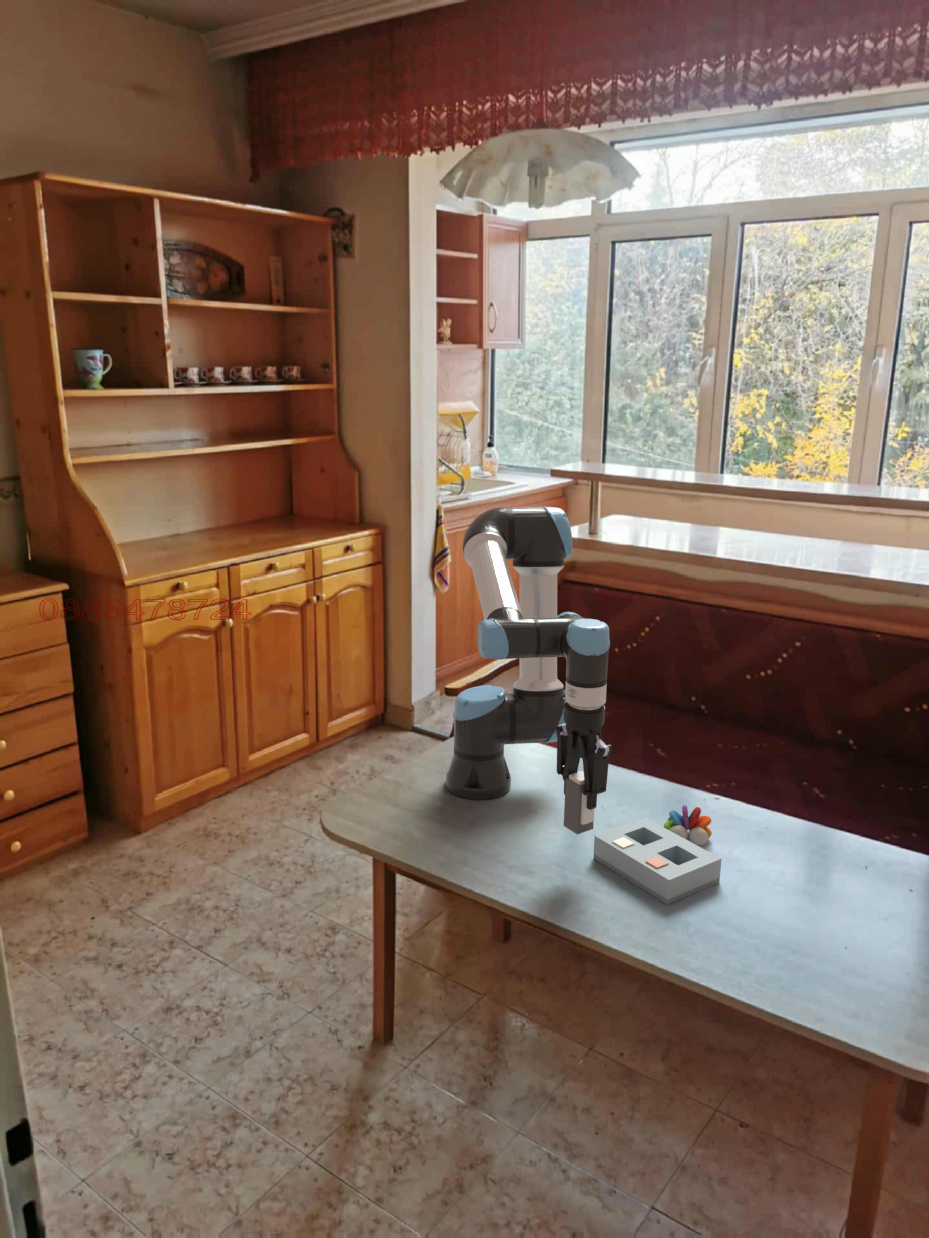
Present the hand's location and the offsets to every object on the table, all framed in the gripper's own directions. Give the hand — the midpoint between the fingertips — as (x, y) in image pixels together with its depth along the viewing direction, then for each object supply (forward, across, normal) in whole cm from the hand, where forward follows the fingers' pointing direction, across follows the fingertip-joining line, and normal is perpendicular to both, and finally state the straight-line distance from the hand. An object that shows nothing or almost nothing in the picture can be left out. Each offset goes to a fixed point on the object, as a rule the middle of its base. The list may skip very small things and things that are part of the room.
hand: (578, 816), depth 179 cm
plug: (+2, 0, 0) cm, 2 cm away
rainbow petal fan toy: (+12, +3, +28) cm, 30 cm away
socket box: (+11, +9, +13) cm, 19 cm away
